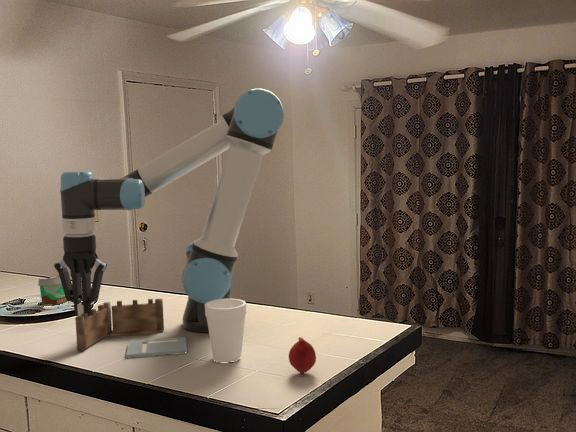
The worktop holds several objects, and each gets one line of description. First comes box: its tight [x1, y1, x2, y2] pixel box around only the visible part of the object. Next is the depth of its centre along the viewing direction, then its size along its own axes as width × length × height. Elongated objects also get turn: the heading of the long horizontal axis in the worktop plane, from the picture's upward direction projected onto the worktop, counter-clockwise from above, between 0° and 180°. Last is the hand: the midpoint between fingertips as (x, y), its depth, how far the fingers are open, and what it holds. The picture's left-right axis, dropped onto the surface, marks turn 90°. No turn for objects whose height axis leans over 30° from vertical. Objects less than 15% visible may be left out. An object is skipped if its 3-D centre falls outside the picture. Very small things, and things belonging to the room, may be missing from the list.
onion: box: [288, 336, 317, 374], centre depth 125 cm, size 6×6×8 cm
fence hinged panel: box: [74, 304, 108, 352], centre depth 147 cm, size 13×2×8 cm, turn 169°
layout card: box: [125, 336, 188, 359], centre depth 143 cm, size 14×10×1 cm
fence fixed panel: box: [102, 298, 165, 337], centre depth 156 cm, size 15×4×9 cm, turn 101°
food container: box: [37, 274, 72, 308], centre depth 184 cm, size 12×6×10 cm, turn 168°
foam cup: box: [205, 298, 247, 363], centre depth 135 cm, size 10×9×13 cm
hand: (83, 328), depth 146 cm, fingers closed
